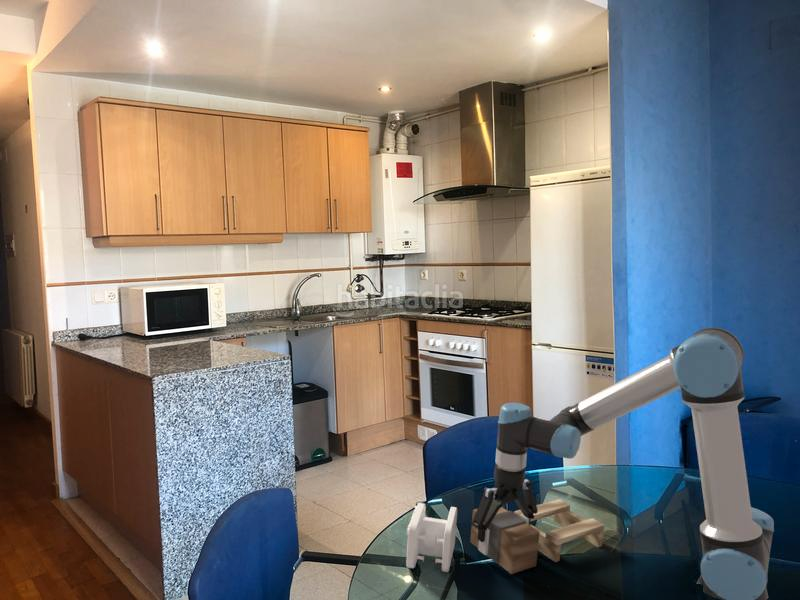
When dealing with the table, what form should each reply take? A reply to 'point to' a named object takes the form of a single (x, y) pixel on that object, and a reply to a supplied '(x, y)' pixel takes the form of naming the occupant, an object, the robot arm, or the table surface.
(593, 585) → the table surface
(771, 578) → the table surface
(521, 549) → the wooden block with band
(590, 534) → the wooden bar frame
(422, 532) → the cable organizer
